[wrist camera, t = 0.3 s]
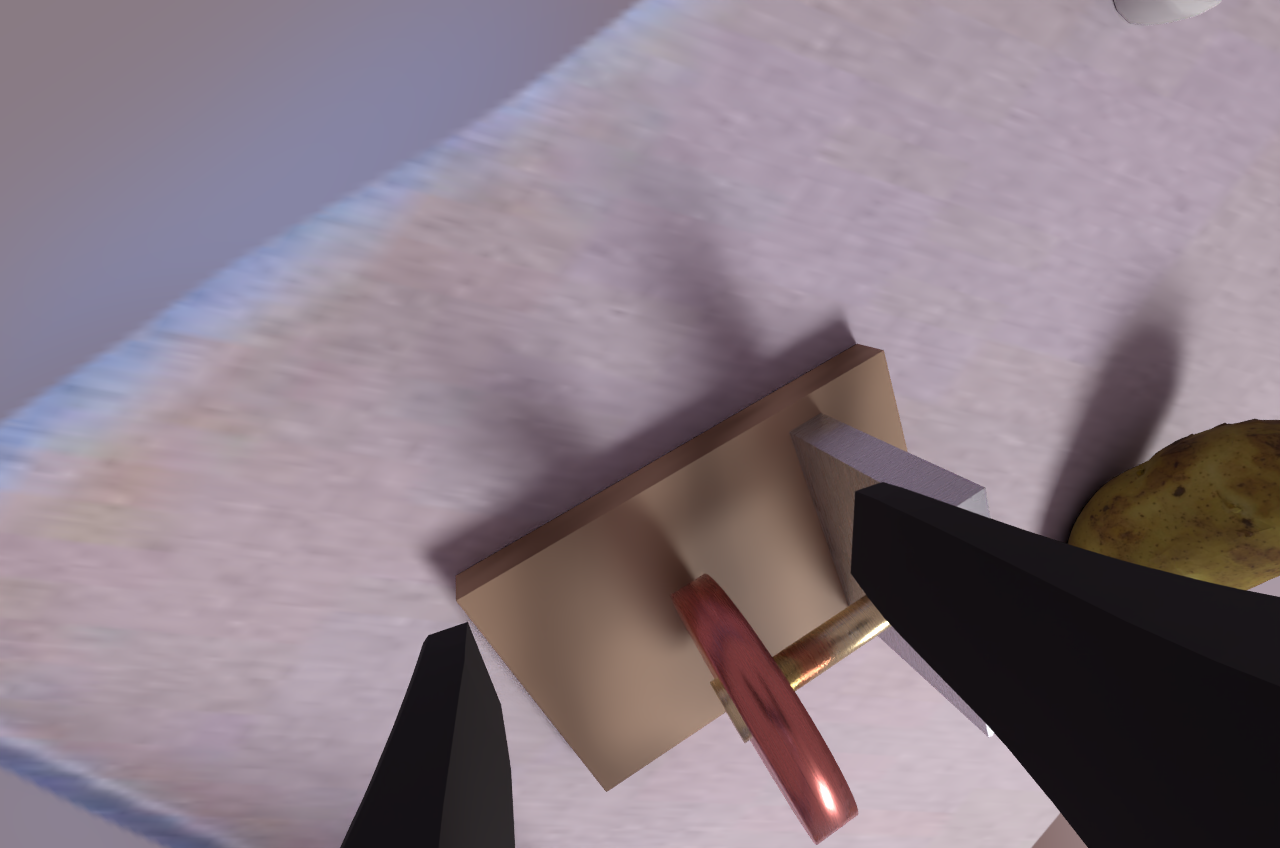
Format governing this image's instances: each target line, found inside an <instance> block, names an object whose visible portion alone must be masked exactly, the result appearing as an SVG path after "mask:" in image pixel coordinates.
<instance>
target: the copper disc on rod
mask: <svg viewBox="0 0 1280 848" xmlns="http://www.w3.org/2000/svg"><path fill="white" fill-rule="evenodd" d="M670 597H671V600H672V602H673V604H674V606H675V608H676V610H677V612H678V614H679V616H680V618H681V620H682V621H683V623H684V625H685V627H686V629H687V631H688V633H689V634H690V636H691V638H692V640H693V642H694V643H695V645H696V647H697V649H698V651H699V652H700V654H701V656H702V658H703V660H704V661H705V663H706V665H707V667H708V668H709V670H710V672H711V674H712V675H713V677H714V680H712V681H711V682H710V684H711V686H712V688H713V690H714V691H715V693H716V695H717V697H718V699H719V700H720V702H721V704H722V706H723V707H724V709H725V711H726V713H727V714H728V716H729V718H730V720H731V721H732V723H733V725H734V726H735V728H736V730H737V731H738V733H739V735H740V736H741V738H742V740H743V741H744V743H746V742H747V741H749V740H750V741H751V742H752V744H753V746H754V747H755V749H756V751H757V752H758V754H759V756H760V758H761V759H762V761H763V763H764V764H765V766H766V768H767V769H768V771H769V772H770V774H771V776H772V777H773V779H774V781H775V782H776V784H777V786H778V787H779V789H780V791H781V792H782V794H783V795H784V797H785V799H786V800H787V802H788V804H789V805H790V807H791V808H792V810H793V812H794V813H795V815H796V816H797V818H798V819H799V821H800V823H801V824H802V826H803V827H804V829H805V830H806V832H807V833H808V835H809V836H810V838H811V839H812V840H813V842H814V843H815V844H816V845H817V844H819V843H820V842H822V841H823V840H824V839H826V838H827V837H828V836H830V835H831V834H832V833H834V832H835V831H837V830H838V829H839V828H841V827H842V826H843V825H845V824H846V823H847V822H849V821H850V820H852V819H853V818H854V817H856V816H857V815H858V809H857V805H856V803H855V800H854V797H853V795H852V793H851V791H850V788H849V786H848V784H847V782H846V780H845V778H844V776H843V774H842V772H841V770H840V768H839V767H838V765H837V763H836V761H835V759H834V757H833V755H832V754H831V752H830V750H829V748H828V746H827V745H826V743H825V741H824V739H823V738H822V736H821V734H820V733H819V731H818V729H817V727H816V726H815V724H814V722H813V721H812V719H811V717H810V716H809V714H808V712H807V711H806V709H805V707H804V706H803V704H802V703H801V701H800V699H799V698H798V696H797V694H796V693H795V691H796V690H798V689H799V688H801V687H802V686H804V685H805V684H807V683H808V682H810V681H811V680H813V679H814V678H816V677H817V676H818V675H820V674H821V673H823V672H824V671H826V670H827V669H829V668H830V667H832V666H833V665H835V664H836V663H838V662H839V661H841V660H842V659H844V658H845V657H846V656H848V655H849V654H851V653H852V652H854V651H855V650H857V649H858V648H860V647H861V646H863V645H864V644H866V643H867V642H869V641H870V640H872V639H873V638H874V637H876V636H877V635H879V634H880V633H882V632H883V631H885V630H886V629H888V628H889V627H891V625H890V624H889V623H888V622H887V621H886V620H885V619H884V617H883V616H882V615H881V613H880V612H879V611H878V610H877V608H876V607H875V606H874V604H873V603H872V602H871V601H870V599H869V598H868V597H867V595H865V596H863V597H862V598H860V599H859V600H857V601H856V602H854V603H853V604H851V605H850V606H848V607H847V608H845V609H844V610H842V611H841V612H839V613H838V614H836V615H835V616H833V617H832V618H830V619H829V620H827V621H826V622H824V623H823V624H821V625H820V626H818V627H817V628H815V629H813V630H812V631H810V632H809V633H807V634H806V635H804V636H803V637H801V638H800V639H798V640H797V641H795V642H794V643H792V644H791V645H789V646H788V647H786V648H785V649H783V650H782V651H780V652H779V653H777V654H776V655H774V656H773V657H772V656H771V654H770V653H769V651H768V650H767V649H766V647H765V646H764V644H763V643H762V641H761V640H760V638H759V637H758V635H757V634H756V633H755V631H754V630H753V628H752V627H751V625H750V624H749V623H748V621H747V620H746V619H745V617H744V616H743V615H742V613H741V612H740V610H739V609H738V608H737V607H736V605H735V604H734V603H733V601H732V600H731V599H730V598H729V596H728V595H727V594H726V593H725V591H724V590H723V589H722V588H721V587H720V586H719V584H718V583H717V582H716V581H715V580H714V579H713V578H712V577H710V576H709V575H708V574H706V573H705V574H703V575H701V576H700V577H698V578H697V579H695V580H693V581H692V582H690V583H689V584H687V585H685V586H684V587H682V588H681V589H679V590H677V591H676V592H674V593H673V594H671V595H670Z"/></svg>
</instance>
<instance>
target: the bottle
mask: <svg viewBox="0 0 1280 848" xmlns="http://www.w3.org/2000/svg"><path fill="white" fill-rule="evenodd" d="M1221 1H1222V0H1114V3H1115V6H1116V9H1117V11H1118V12H1119V13H1120V14H1121V15H1122V16H1123V17H1124V18H1125V19H1126V20H1127V21H1128V22H1129V23H1132V24H1141V25H1160V24H1167V23H1172V22H1176V21H1180V20H1183V19H1187V18H1191V17H1194V16H1197V15H1200V14H1202V13H1204V12H1205V11H1207V10H1209V9H1211V8H1213V7H1215V6H1217V5H1218V4H1219V3H1220V2H1221Z"/></svg>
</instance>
